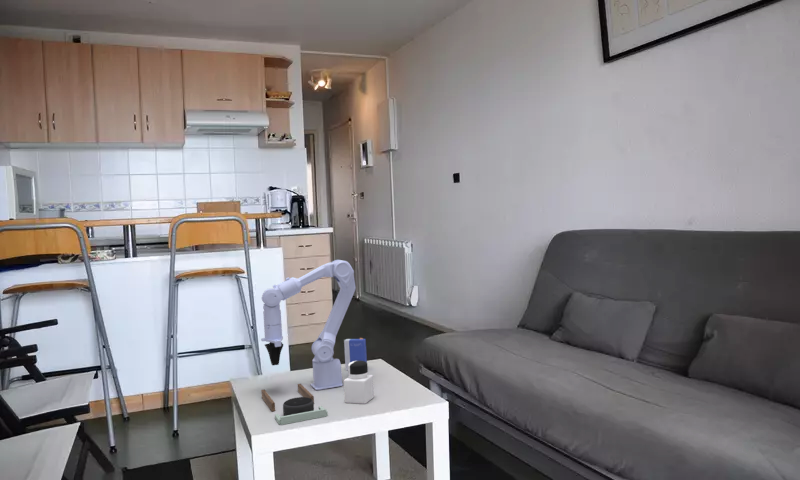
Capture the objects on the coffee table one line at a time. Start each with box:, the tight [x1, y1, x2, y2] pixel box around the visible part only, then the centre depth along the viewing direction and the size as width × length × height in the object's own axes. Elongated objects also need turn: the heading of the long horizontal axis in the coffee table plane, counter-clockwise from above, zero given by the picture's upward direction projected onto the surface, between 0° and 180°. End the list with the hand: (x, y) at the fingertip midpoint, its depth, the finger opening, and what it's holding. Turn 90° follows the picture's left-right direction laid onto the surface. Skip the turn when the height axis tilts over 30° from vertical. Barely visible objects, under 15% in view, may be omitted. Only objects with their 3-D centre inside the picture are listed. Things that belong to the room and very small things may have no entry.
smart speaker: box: [282, 396, 315, 416], centre depth 165 cm, size 9×9×4 cm
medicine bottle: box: [343, 361, 375, 404], centre depth 176 cm, size 7×7×12 cm
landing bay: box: [274, 405, 329, 426], centre depth 162 cm, size 14×6×2 cm, turn 114°
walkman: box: [343, 337, 368, 372], centre depth 214 cm, size 8×3×12 cm, turn 77°
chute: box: [260, 383, 315, 412], centre depth 179 cm, size 13×17×2 cm
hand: (275, 364), depth 189 cm, fingers closed
